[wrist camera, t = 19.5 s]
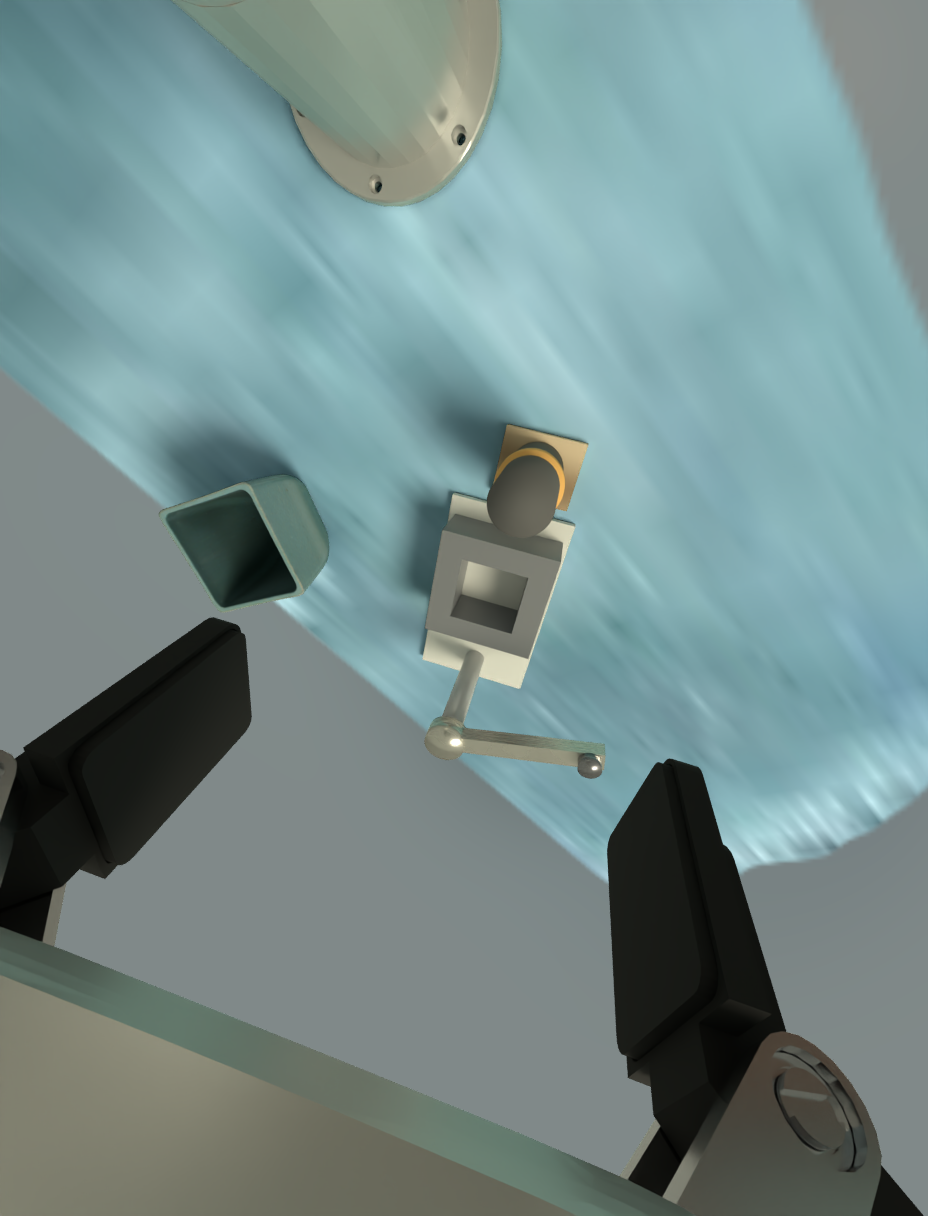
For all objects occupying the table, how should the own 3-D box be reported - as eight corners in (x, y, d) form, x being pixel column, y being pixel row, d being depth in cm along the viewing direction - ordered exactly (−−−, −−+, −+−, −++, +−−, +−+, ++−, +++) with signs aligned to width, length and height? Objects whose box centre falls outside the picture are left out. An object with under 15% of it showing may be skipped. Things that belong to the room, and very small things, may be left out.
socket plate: (454, 492, 37) (414, 534, 28) (575, 524, 36) (573, 578, 27) (424, 655, 45) (386, 726, 37) (520, 685, 44) (505, 765, 36)
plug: (514, 429, 33) (491, 454, 25) (576, 446, 32) (572, 476, 25) (499, 491, 35) (474, 530, 27) (556, 507, 35) (547, 551, 27)
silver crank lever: (432, 743, 36) (424, 763, 34) (428, 714, 34) (419, 733, 33) (602, 764, 33) (603, 787, 31) (605, 733, 32) (606, 756, 30)
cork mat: (507, 423, 33) (506, 424, 33) (588, 443, 33) (588, 445, 32) (492, 489, 36) (491, 491, 35) (566, 509, 35) (566, 511, 35)
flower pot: (356, 551, 41) (305, 595, 34) (280, 570, 44) (217, 614, 37) (314, 455, 38) (246, 480, 30) (235, 482, 41) (154, 512, 33)
